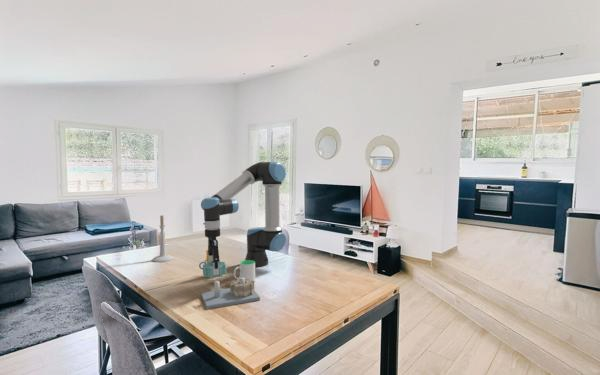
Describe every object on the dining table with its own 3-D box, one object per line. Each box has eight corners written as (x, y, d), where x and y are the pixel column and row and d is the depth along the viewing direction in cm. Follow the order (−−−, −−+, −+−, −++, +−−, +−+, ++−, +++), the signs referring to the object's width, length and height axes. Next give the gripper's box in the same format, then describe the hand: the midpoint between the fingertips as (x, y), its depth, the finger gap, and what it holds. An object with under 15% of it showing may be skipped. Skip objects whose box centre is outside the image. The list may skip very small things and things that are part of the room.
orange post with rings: (214, 280, 180) (213, 253, 180) (196, 279, 182) (196, 252, 182) (223, 273, 192) (223, 248, 191) (207, 272, 194) (206, 247, 194)
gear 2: (244, 286, 167) (244, 277, 166) (258, 292, 159) (258, 282, 159) (226, 292, 159) (226, 282, 158) (240, 299, 151) (240, 288, 151)
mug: (237, 286, 171) (237, 266, 171) (230, 282, 178) (230, 263, 177) (258, 281, 179) (257, 262, 178) (250, 277, 185) (250, 259, 184)
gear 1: (223, 269, 176) (222, 259, 175) (227, 275, 166) (227, 266, 166) (202, 272, 171) (201, 263, 171) (205, 279, 161) (205, 269, 161)
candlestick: (177, 258, 223) (176, 214, 222) (160, 263, 213) (159, 216, 211) (165, 256, 230) (164, 213, 228) (148, 260, 219) (147, 215, 218)
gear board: (249, 288, 169) (249, 271, 169) (259, 300, 154) (259, 282, 153) (201, 295, 159) (200, 278, 159) (206, 309, 144) (206, 290, 143)
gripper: (201, 225, 176) (202, 265, 177) (208, 233, 154) (210, 279, 156) (215, 223, 179) (217, 263, 181) (224, 232, 158) (226, 277, 159)
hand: (214, 271), depth 168 cm, fingers closed on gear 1, 11 cm apart
